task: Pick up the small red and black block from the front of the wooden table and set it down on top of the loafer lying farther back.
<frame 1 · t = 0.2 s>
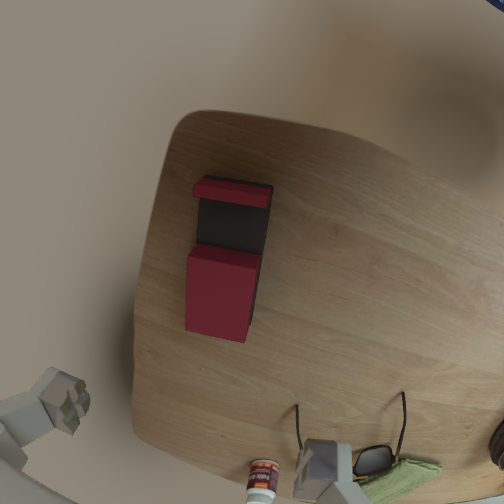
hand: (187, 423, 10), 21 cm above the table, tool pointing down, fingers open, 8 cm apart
sunglasses: (350, 429, 40), on the table
red and black block: (230, 253, 31), on the table
washcloth: (389, 477, 45), on the table
pill bottle: (265, 463, 46), on the table
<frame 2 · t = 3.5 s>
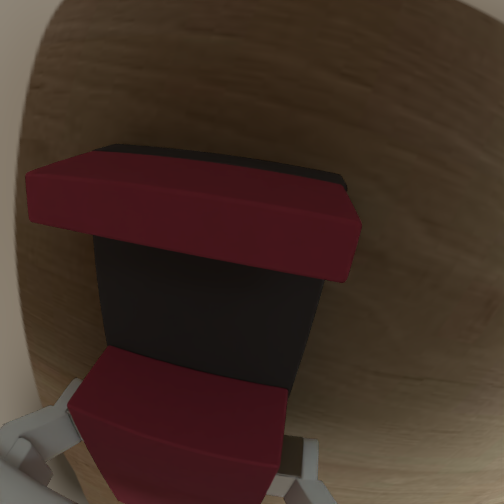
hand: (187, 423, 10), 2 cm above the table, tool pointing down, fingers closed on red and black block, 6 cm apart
red and black block: (202, 363, 11), on the table, touching gripper
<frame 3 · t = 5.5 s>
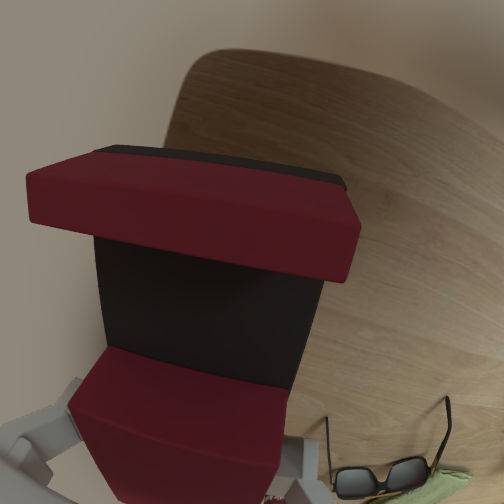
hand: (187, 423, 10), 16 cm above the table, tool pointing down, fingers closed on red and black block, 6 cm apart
sunglasses: (384, 441, 33), on the table
red and black block: (202, 364, 11), point 14 cm above the table, touching gripper
washcloth: (416, 488, 38), on the table
pill bottle: (283, 481, 39), on the table
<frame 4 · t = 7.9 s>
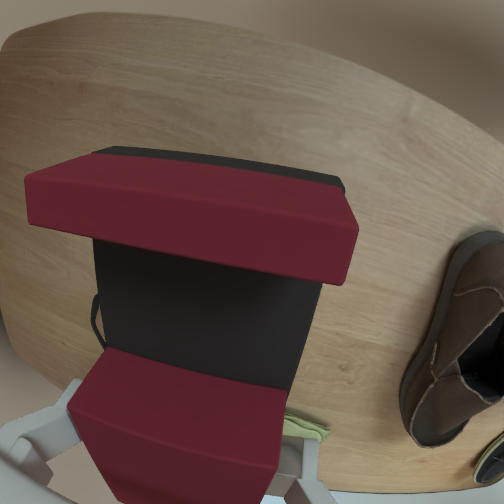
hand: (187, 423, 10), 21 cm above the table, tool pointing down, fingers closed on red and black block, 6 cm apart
loafer: (448, 345, 32), on the table
red and black block: (201, 365, 11), point 20 cm above the table, touching gripper
washcloth: (263, 435, 43), on the table
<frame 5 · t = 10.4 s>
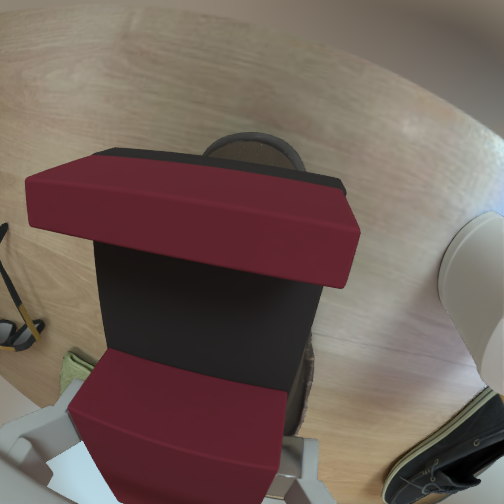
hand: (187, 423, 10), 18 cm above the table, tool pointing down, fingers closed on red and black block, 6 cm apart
sunglasses: (4, 283, 34), on the table
loafer: (251, 306, 29), on the table
jar: (489, 268, 24), on the table
boat shoe: (444, 441, 35), on the table
red and black block: (202, 366, 11), point 16 cm above the table, touching gripper
washcloth: (102, 398, 40), on the table
when the fingers open (12 cm above the table, at t = 12.4 s): red and black block stays where it is, resting on loafer.
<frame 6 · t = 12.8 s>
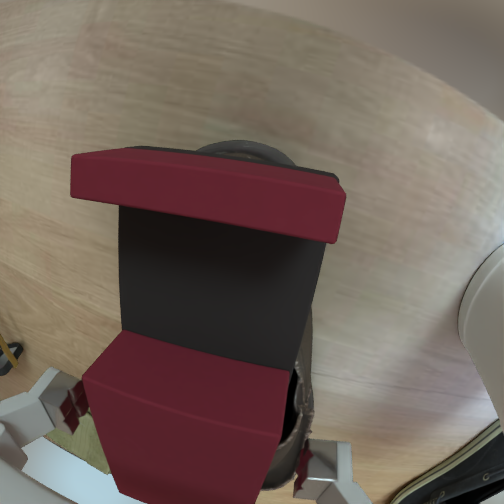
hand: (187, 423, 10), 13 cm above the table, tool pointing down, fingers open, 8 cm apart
loafer: (242, 344, 24), on the table, touching red and black block
boat shoe: (450, 469, 30), on the table
red and black block: (209, 352, 12), point 10 cm above the table, touching loafer
washcloth: (87, 423, 35), on the table
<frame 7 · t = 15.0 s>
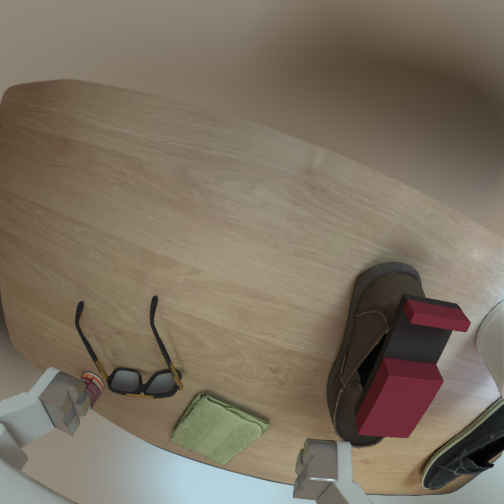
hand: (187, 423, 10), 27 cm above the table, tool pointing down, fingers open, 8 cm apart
sunglasses: (135, 340, 46), on the table
loafer: (367, 357, 41), on the table, touching red and black block
boat shoe: (467, 438, 46), on the table
red and black block: (404, 361, 28), point 10 cm above the table, touching loafer
washcloth: (216, 425, 51), on the table
pill bottle: (94, 380, 52), on the table
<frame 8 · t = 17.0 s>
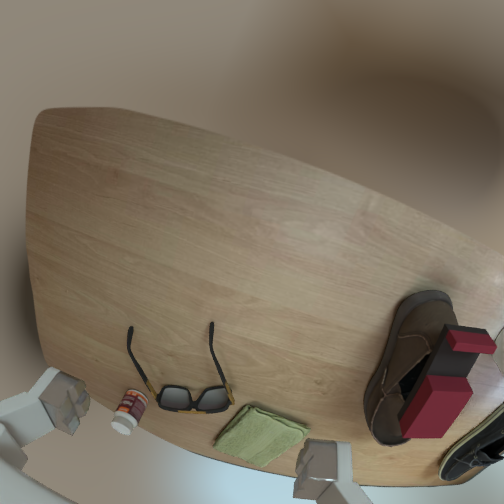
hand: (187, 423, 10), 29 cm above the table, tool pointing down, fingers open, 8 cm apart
sunglasses: (186, 360, 49), on the table
loafer: (401, 368, 44), on the table, touching red and black block
boat shoe: (479, 433, 50), on the table
red and black block: (440, 376, 31), point 10 cm above the table, touching loafer
washcloth: (258, 432, 55), on the table
pill bottle: (137, 396, 56), on the table
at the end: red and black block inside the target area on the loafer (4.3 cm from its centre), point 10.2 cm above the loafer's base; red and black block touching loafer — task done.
